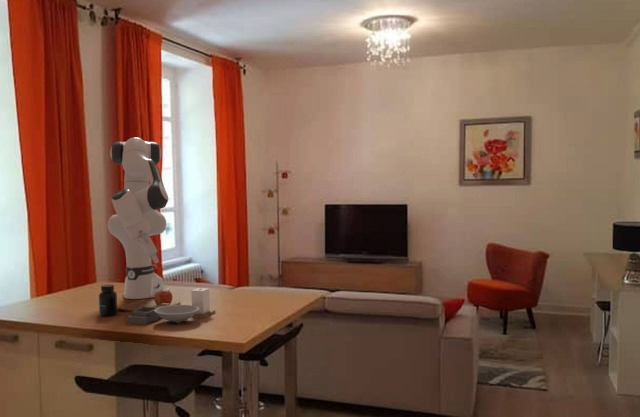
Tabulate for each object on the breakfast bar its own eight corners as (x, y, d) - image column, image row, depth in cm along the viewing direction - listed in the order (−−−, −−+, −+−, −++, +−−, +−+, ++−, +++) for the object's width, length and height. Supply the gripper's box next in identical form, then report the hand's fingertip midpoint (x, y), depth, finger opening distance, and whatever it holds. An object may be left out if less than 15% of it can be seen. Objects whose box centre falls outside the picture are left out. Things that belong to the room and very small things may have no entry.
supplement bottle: (97, 317, 215) (96, 287, 214) (101, 313, 222) (99, 284, 221) (116, 316, 216) (114, 286, 216) (119, 312, 223) (117, 283, 222)
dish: (145, 325, 202) (145, 312, 201) (168, 316, 215) (168, 303, 215) (186, 329, 196) (186, 315, 195) (207, 318, 209) (207, 306, 209)
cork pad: (197, 311, 221) (197, 309, 221) (215, 312, 219) (215, 310, 219) (187, 316, 214) (186, 313, 214) (205, 317, 211) (204, 315, 211)
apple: (150, 308, 228) (150, 289, 228) (163, 304, 235) (162, 286, 234) (164, 310, 225) (163, 291, 224) (176, 306, 231) (175, 287, 231)
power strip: (167, 307, 230) (166, 297, 230) (183, 307, 228) (183, 298, 228) (127, 323, 206) (127, 312, 205) (145, 324, 203) (145, 313, 203)
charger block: (198, 310, 219) (198, 287, 219) (209, 310, 218) (209, 288, 217) (192, 313, 215) (191, 290, 214) (203, 313, 213) (202, 290, 213)
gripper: (150, 229, 202) (167, 261, 206) (142, 222, 221) (158, 252, 224) (134, 237, 200) (151, 269, 204) (128, 229, 218) (144, 259, 222)
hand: (155, 260), depth 214 cm, fingers open, 8 cm apart
